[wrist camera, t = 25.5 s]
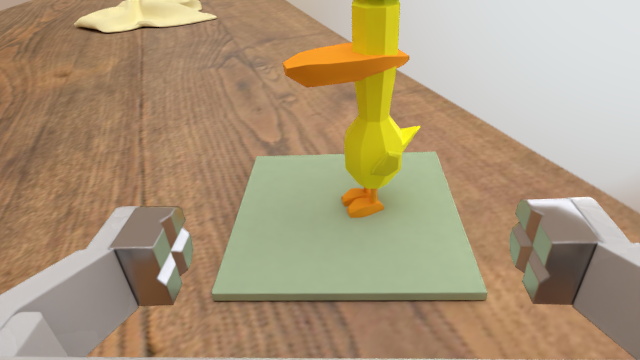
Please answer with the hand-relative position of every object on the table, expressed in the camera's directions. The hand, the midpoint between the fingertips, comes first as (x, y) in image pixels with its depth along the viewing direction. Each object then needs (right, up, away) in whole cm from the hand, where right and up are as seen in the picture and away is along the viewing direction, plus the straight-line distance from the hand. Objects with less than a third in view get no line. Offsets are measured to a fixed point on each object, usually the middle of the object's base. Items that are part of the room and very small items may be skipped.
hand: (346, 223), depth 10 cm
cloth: (-28, +28, +59) cm, 71 cm away
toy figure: (+2, 0, +13) cm, 13 cm away
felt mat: (+1, -1, +13) cm, 13 cm away
